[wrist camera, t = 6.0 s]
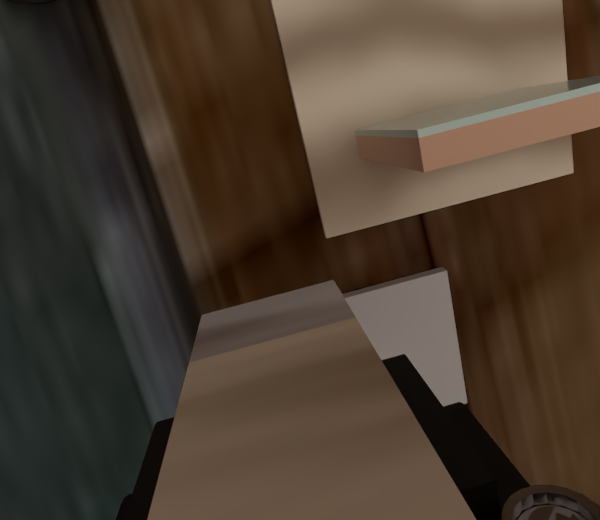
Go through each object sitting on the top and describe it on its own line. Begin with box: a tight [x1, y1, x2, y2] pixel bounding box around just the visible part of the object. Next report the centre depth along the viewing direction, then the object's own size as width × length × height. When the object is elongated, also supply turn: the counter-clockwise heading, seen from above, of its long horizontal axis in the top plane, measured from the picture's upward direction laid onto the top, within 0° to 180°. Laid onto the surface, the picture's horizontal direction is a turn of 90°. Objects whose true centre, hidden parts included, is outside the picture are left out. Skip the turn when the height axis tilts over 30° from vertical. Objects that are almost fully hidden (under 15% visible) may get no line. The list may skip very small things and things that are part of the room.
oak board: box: [270, 0, 574, 239], centre depth 26 cm, size 20×16×1 cm
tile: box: [355, 76, 600, 172], centre depth 22 cm, size 2×10×10 cm, turn 103°
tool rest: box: [342, 267, 467, 406], centre depth 31 cm, size 10×10×1 cm
